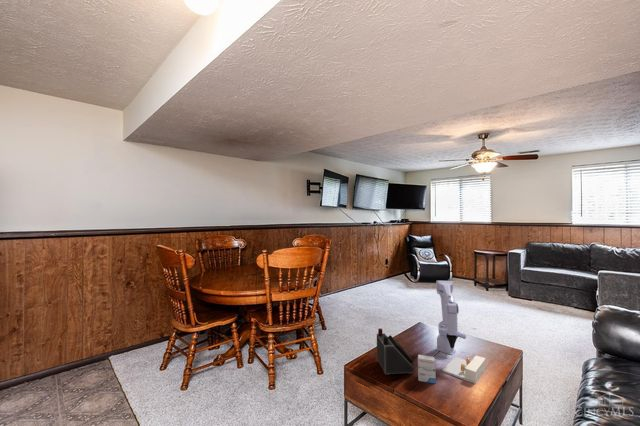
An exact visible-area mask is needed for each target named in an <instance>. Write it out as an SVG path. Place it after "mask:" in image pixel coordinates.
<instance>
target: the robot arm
mask: <svg viewBox="0 0 640 426" xmlns="http://www.w3.org/2000/svg"><path fill="white" fill-rule="evenodd" d="M435 288H436V293H437V295H439V296H440V303H441V304H440V305H441V315H442V316H441V317H442V320H441V321H439V322H438V335H437V336H436V351H438V352H442V353H444V354H447V355H450V356H451V355H454V353H456V352H457V349H455V345H456V341H457V340H458V338H461V339H463V340H466V339H467V334H465V333H462V332H460V331H458V315H459V305H458V303H457V302H456V300H455V297H454V296H453V294H452V293H453V290H454V283H453V281H452V280H436V282H435Z"/></svg>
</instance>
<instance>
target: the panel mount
mask: <svg viewBox="0 0 640 426" xmlns="http://www.w3.org/2000/svg"><path fill="white" fill-rule="evenodd" d="M471 359H472V360H471V362H470V363H469V364H468V365H467V364H466V360H467V359H466V360H465V359H463V358H460V357H457V356H455V357H453V358H452V360H450V362H449V363H448V364H447V365H446V366H445V367H444V368H442V373H446V374H447V375H451V376H452V377H456V378H458V379H461V380H464V381H466V382H469V383H472V384H474V385H476V384H477V383H478V380H479V379H480V378H481V377H482V376H483V374H484V373H485V371H486V370H487V358H486V357H482V356H479V355H475V356H473V358H471ZM461 364H465V367H466V368H465V371H464V372H463V371H461Z"/></svg>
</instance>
